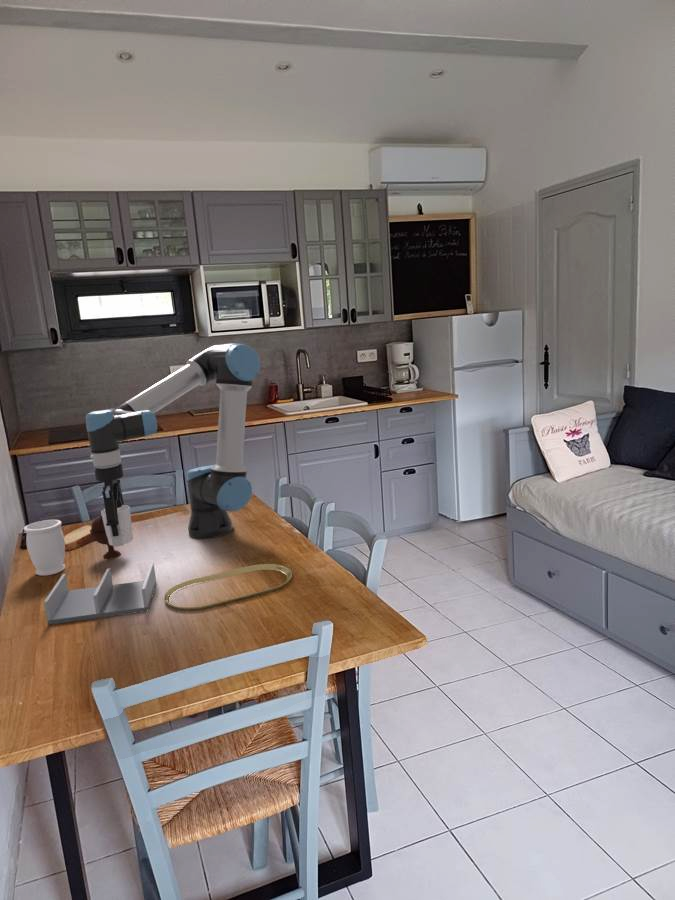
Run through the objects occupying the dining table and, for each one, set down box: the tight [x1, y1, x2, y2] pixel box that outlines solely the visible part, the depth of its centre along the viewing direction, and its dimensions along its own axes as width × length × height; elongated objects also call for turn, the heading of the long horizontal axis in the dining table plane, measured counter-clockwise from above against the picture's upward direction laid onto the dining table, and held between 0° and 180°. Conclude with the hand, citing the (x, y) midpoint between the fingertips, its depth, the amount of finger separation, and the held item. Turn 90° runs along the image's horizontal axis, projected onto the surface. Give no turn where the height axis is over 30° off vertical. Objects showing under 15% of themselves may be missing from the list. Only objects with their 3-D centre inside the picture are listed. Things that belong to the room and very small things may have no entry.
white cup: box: [100, 504, 134, 546], centre depth 183 cm, size 8×8×10 cm
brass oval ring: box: [163, 563, 293, 611], centre depth 172 cm, size 19×35×2 cm, turn 115°
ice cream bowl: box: [90, 513, 122, 560], centre depth 202 cm, size 11×11×15 cm
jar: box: [23, 519, 66, 577], centre depth 192 cm, size 11×10×15 cm
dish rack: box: [43, 562, 157, 626], centre depth 167 cm, size 24×18×6 cm
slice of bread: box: [64, 524, 95, 551], centre depth 221 cm, size 18×18×4 cm
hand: (120, 540), depth 184 cm, fingers closed on white cup, 7 cm apart
